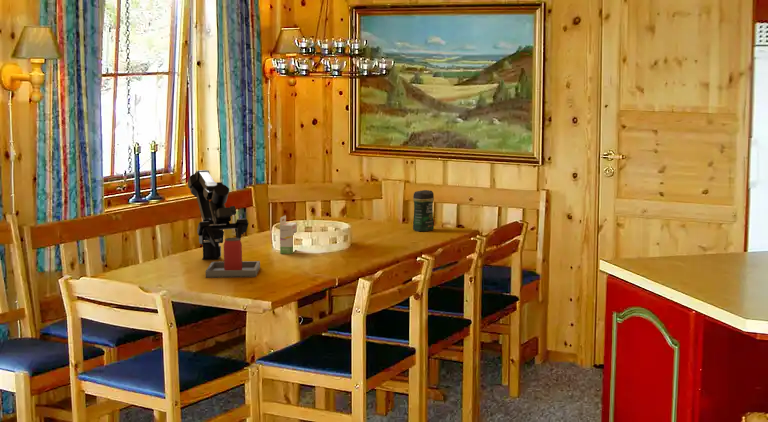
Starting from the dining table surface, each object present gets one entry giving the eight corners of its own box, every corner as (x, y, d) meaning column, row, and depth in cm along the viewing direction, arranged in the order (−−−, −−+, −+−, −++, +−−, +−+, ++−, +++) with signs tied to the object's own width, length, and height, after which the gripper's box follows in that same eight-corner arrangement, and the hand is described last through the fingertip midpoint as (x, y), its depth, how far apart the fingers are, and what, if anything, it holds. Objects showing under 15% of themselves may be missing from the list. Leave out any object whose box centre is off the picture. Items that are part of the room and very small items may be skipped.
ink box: (291, 254, 422) (290, 218, 420) (279, 253, 423) (279, 217, 421) (297, 250, 431) (296, 215, 429) (286, 250, 432) (285, 214, 430)
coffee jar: (423, 232, 474) (423, 191, 471) (410, 230, 479) (410, 190, 477) (436, 229, 481) (436, 189, 479) (423, 228, 486) (423, 188, 484)
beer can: (222, 272, 382) (221, 240, 380) (226, 269, 388) (225, 237, 387) (240, 272, 381) (239, 240, 380) (244, 269, 388) (243, 237, 386)
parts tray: (205, 277, 376) (205, 271, 375) (212, 268, 393) (211, 261, 393) (255, 277, 376) (255, 270, 376) (260, 267, 394) (259, 261, 394)
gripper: (198, 200, 388) (206, 234, 380) (246, 197, 396) (255, 230, 388) (193, 218, 397) (201, 251, 388) (241, 215, 404) (250, 247, 396)
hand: (227, 245), depth 390 cm, fingers open, 9 cm apart
